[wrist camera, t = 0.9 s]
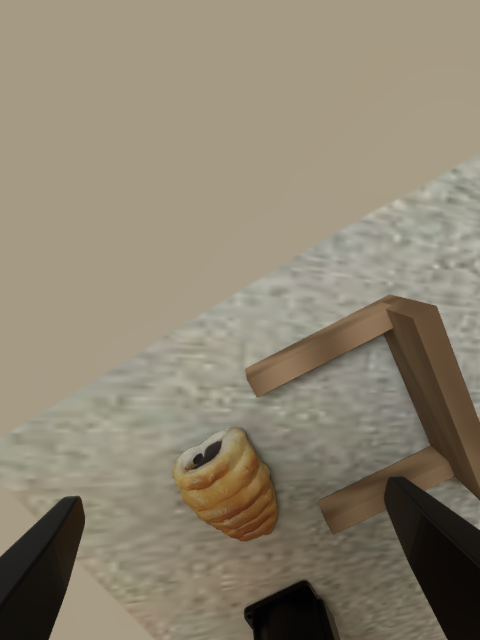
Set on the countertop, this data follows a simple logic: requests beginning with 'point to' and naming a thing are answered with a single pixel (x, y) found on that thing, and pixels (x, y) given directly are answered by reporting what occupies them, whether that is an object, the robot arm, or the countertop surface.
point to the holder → (422, 384)
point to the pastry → (228, 485)
